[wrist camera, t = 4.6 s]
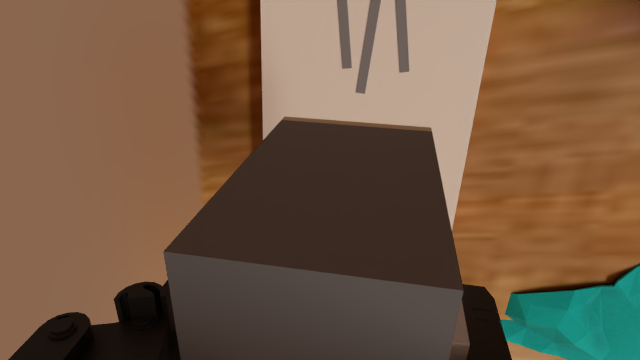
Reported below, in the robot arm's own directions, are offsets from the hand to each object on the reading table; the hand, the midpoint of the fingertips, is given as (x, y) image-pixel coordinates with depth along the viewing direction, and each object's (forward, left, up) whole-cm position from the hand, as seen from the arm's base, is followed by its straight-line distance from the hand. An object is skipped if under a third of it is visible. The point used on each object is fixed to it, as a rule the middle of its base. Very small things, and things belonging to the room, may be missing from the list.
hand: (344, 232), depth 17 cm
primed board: (-2, -2, -14) cm, 15 cm away
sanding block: (0, 0, -2) cm, 2 cm away
